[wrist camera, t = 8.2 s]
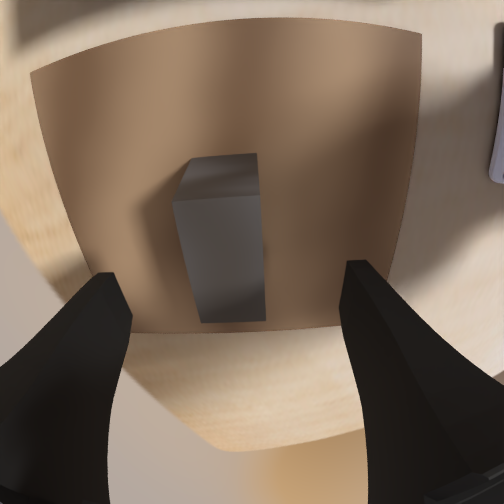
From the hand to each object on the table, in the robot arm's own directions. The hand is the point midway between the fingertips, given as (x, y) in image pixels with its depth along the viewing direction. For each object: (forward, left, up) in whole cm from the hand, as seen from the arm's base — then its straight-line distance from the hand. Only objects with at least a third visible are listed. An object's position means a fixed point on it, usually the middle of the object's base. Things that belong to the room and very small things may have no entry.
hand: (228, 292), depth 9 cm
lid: (0, 0, -5) cm, 5 cm away
